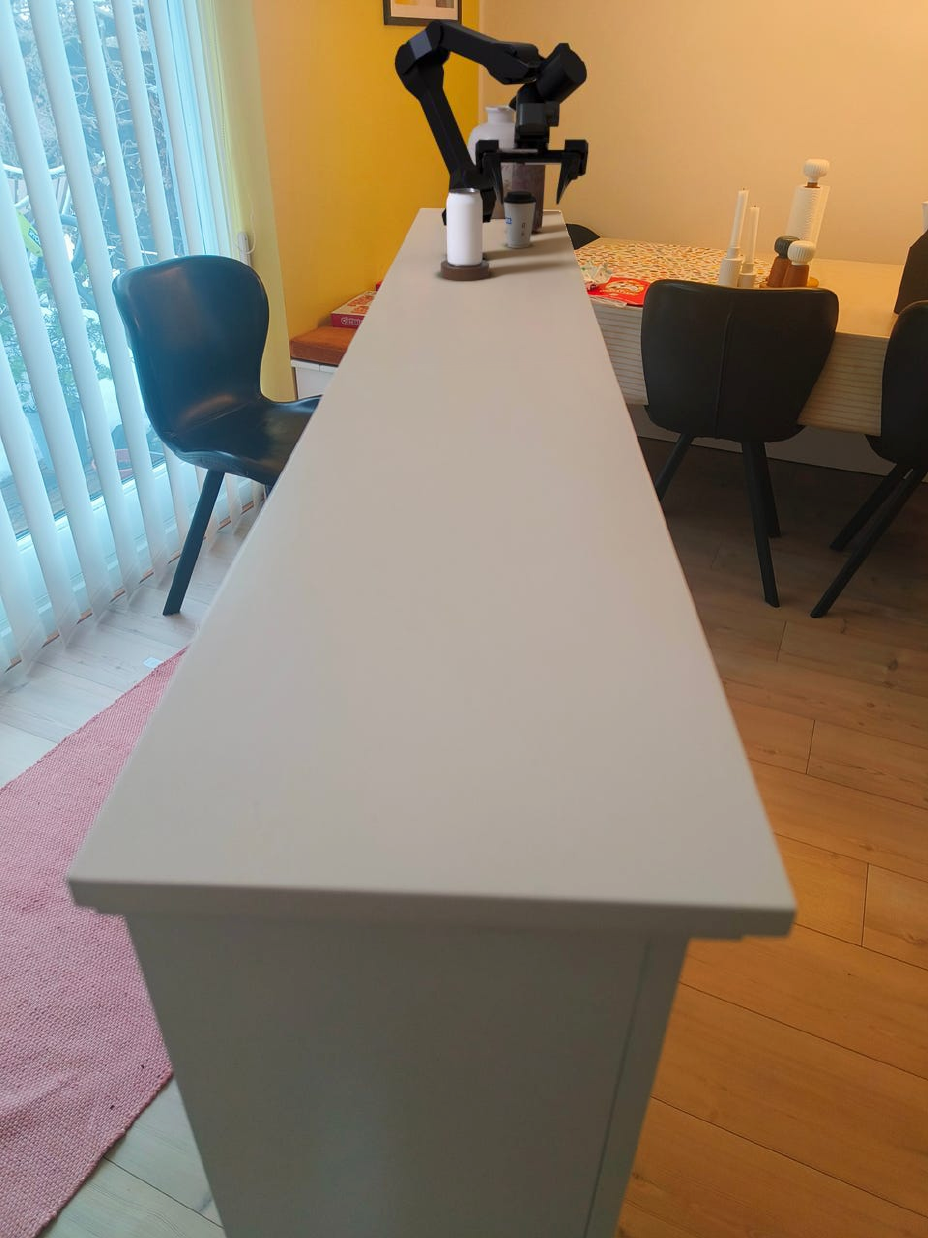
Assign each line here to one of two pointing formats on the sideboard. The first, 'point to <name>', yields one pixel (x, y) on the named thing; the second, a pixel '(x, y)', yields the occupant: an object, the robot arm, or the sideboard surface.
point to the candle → (531, 187)
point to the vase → (503, 130)
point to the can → (464, 227)
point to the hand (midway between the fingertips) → (529, 202)
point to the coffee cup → (519, 218)
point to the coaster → (464, 271)
